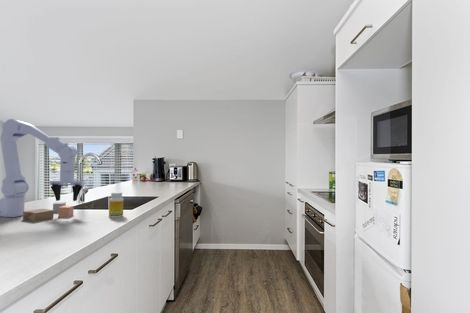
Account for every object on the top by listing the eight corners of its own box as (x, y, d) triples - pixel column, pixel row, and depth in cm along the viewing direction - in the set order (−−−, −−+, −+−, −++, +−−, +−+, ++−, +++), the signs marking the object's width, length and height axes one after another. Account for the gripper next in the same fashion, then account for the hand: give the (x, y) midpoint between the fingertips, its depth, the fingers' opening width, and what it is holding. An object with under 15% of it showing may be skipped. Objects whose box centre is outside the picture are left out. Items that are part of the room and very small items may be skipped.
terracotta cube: (58, 217, 130) (58, 207, 130) (63, 215, 134) (63, 205, 134) (68, 217, 130) (68, 207, 130) (73, 215, 135) (73, 205, 135)
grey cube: (52, 212, 139) (53, 203, 139) (55, 211, 143) (55, 202, 144) (63, 212, 141) (63, 203, 141) (65, 210, 145) (65, 202, 145)
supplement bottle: (107, 216, 134) (107, 192, 135) (120, 214, 138) (121, 191, 139) (110, 218, 130) (111, 193, 130) (125, 216, 134) (125, 193, 134)
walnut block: (22, 220, 122) (23, 211, 122) (41, 217, 130) (41, 208, 130) (34, 222, 119) (35, 213, 119) (53, 219, 127) (53, 210, 127)
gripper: (46, 171, 128) (45, 201, 128) (79, 172, 129) (78, 202, 129) (54, 171, 135) (54, 199, 135) (86, 171, 136) (85, 199, 136)
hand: (66, 200), depth 132 cm, fingers open, 7 cm apart
